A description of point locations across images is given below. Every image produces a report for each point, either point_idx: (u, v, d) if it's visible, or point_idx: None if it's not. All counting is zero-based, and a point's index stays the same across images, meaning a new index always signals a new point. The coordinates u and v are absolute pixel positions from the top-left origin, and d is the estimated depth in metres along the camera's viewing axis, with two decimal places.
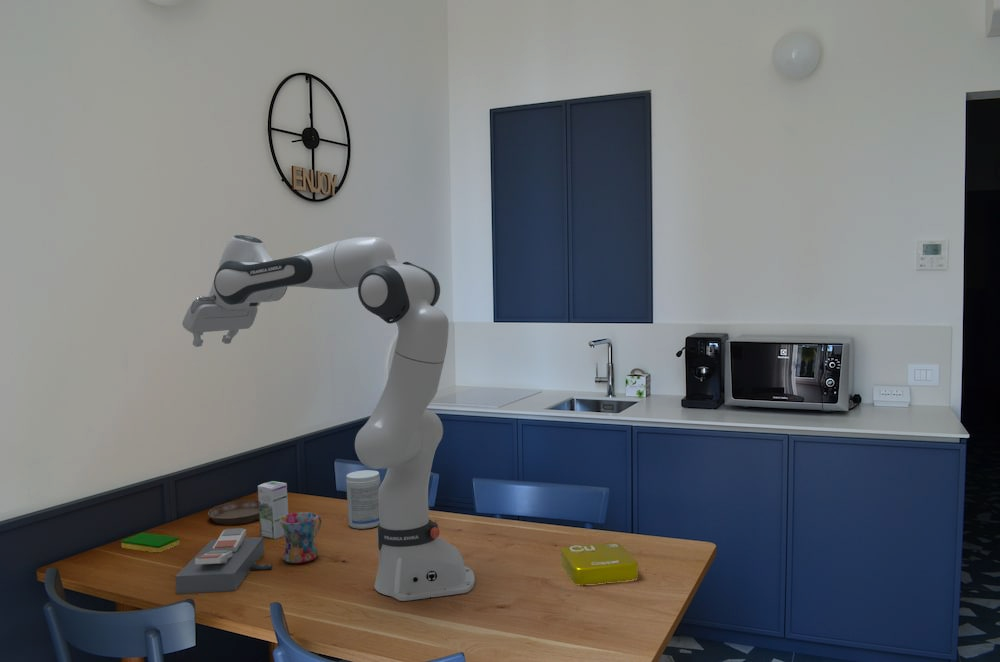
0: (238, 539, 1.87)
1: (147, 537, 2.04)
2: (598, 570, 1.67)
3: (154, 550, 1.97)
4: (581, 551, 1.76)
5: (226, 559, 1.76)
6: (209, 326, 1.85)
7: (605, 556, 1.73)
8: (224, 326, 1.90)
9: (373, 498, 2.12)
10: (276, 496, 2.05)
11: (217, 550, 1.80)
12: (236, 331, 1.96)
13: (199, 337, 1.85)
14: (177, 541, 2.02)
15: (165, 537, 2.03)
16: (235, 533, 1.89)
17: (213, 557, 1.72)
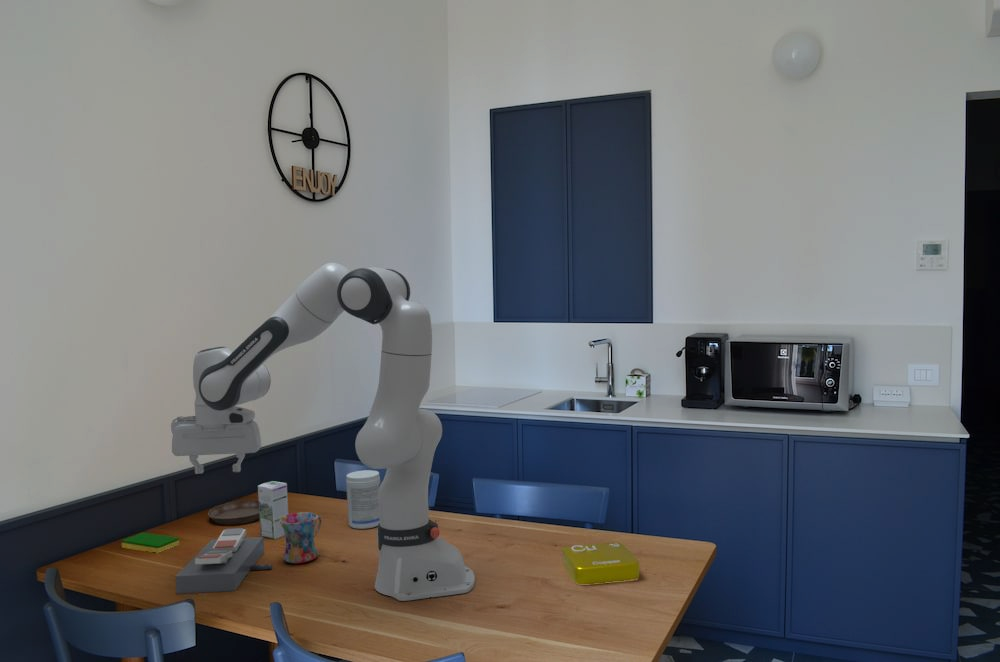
0: (238, 539, 1.87)
1: (147, 537, 2.04)
2: (599, 570, 1.67)
3: (154, 550, 1.97)
4: (582, 551, 1.77)
5: (226, 559, 1.76)
6: (194, 448, 1.78)
7: (606, 556, 1.73)
8: (215, 448, 1.79)
9: (373, 498, 2.12)
10: (276, 496, 2.05)
11: (217, 550, 1.80)
12: (239, 456, 1.80)
13: (192, 462, 1.79)
14: (177, 541, 2.02)
15: (165, 537, 2.03)
16: (235, 533, 1.89)
17: (213, 557, 1.72)
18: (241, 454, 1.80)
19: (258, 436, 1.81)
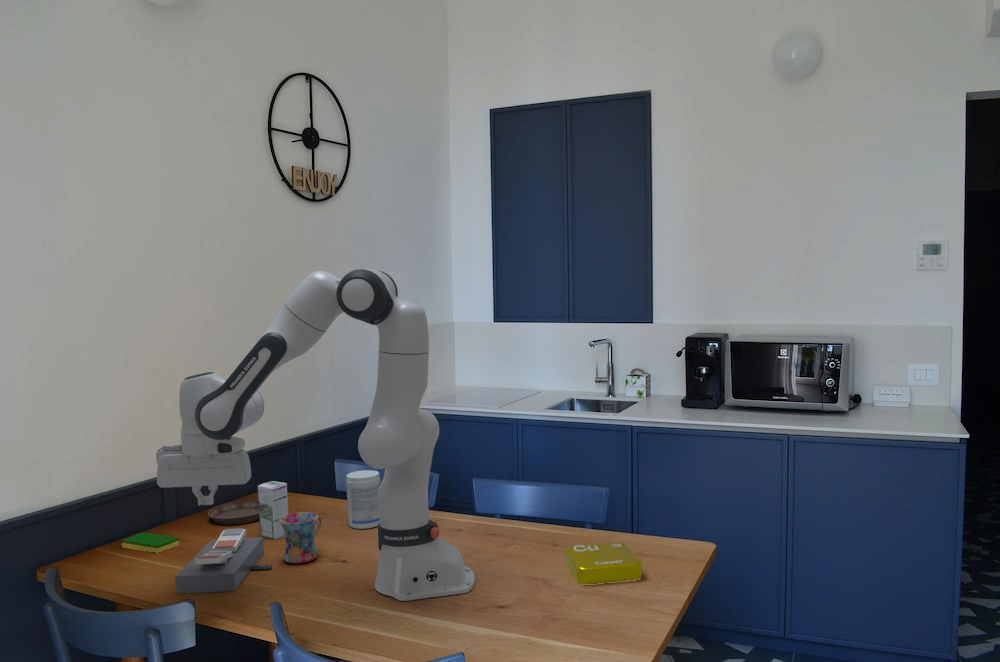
0: (238, 539, 1.87)
1: (147, 537, 2.04)
2: (601, 570, 1.67)
3: (153, 550, 1.97)
4: (585, 551, 1.76)
5: (226, 559, 1.76)
6: (180, 479, 1.69)
7: (609, 556, 1.73)
8: (203, 480, 1.69)
9: (373, 498, 2.12)
10: (276, 496, 2.05)
11: (217, 550, 1.80)
12: (212, 488, 1.70)
13: (195, 493, 1.70)
14: (177, 541, 2.02)
15: (165, 537, 2.03)
16: (235, 533, 1.89)
17: (213, 557, 1.72)
18: (213, 486, 1.70)
19: (248, 466, 1.72)
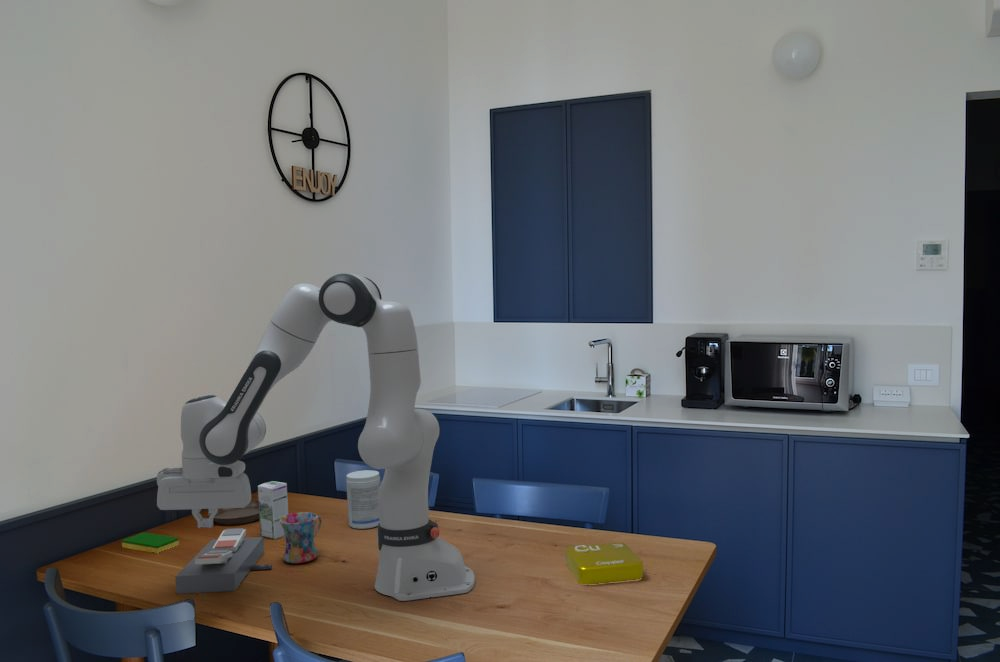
0: (238, 539, 1.87)
1: (147, 537, 2.04)
2: (603, 570, 1.67)
3: (153, 550, 1.97)
4: (586, 551, 1.76)
5: (226, 559, 1.76)
6: (180, 502, 1.70)
7: (610, 556, 1.73)
8: (203, 503, 1.70)
9: (373, 498, 2.12)
10: (276, 496, 2.05)
11: (217, 550, 1.80)
12: (211, 512, 1.71)
13: (195, 516, 1.71)
14: (176, 541, 2.02)
15: (165, 537, 2.03)
16: (235, 533, 1.89)
17: (213, 557, 1.72)
18: (213, 509, 1.71)
19: (248, 490, 1.72)
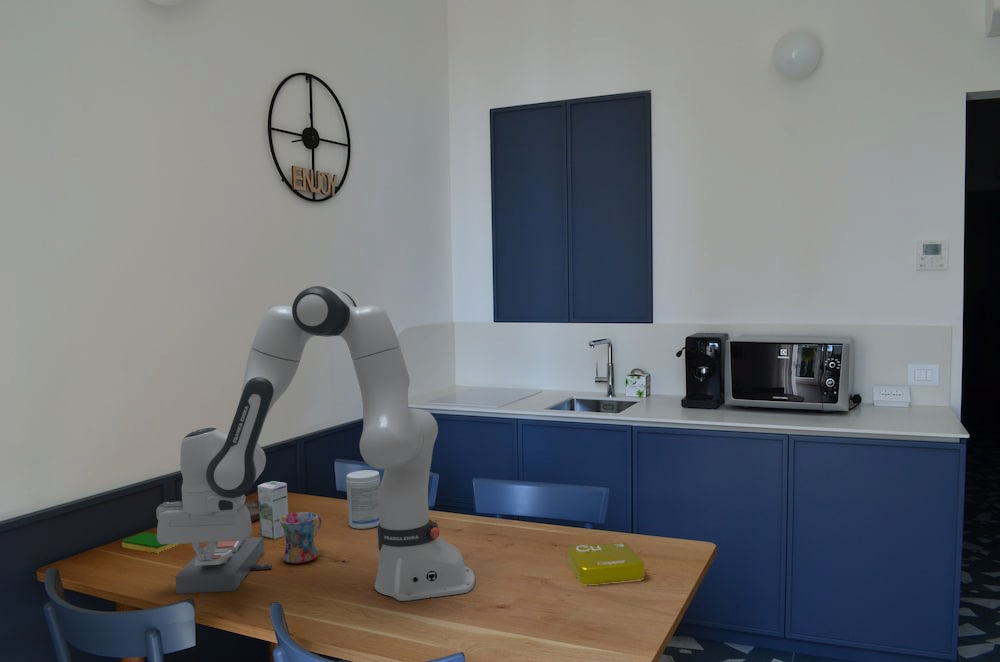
0: None
1: (147, 537, 2.04)
2: (604, 570, 1.67)
3: (153, 550, 1.97)
4: (587, 551, 1.76)
5: (226, 559, 1.76)
6: (180, 536, 1.69)
7: (611, 556, 1.73)
8: (203, 536, 1.69)
9: (373, 498, 2.12)
10: (276, 496, 2.05)
11: (217, 549, 1.80)
12: (212, 545, 1.70)
13: (196, 549, 1.70)
14: None
15: None
16: None
17: (213, 558, 1.72)
18: (214, 542, 1.70)
19: (249, 522, 1.72)
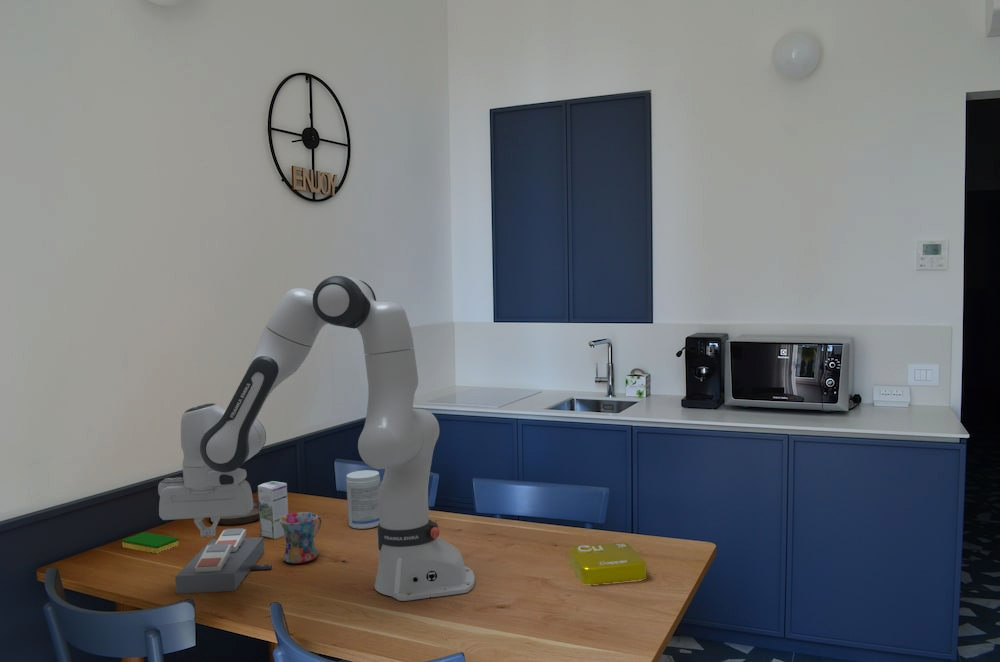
0: (238, 539, 1.87)
1: (148, 537, 2.04)
2: (606, 570, 1.67)
3: (152, 550, 1.97)
4: (589, 551, 1.76)
5: (226, 559, 1.76)
6: (182, 511, 1.69)
7: (613, 556, 1.73)
8: (205, 511, 1.70)
9: (373, 498, 2.12)
10: (276, 496, 2.05)
11: (216, 544, 1.80)
12: (214, 520, 1.71)
13: (198, 525, 1.71)
14: (176, 542, 2.02)
15: (165, 537, 2.03)
16: (235, 533, 1.89)
17: (213, 565, 1.71)
18: (216, 517, 1.71)
19: (250, 497, 1.72)
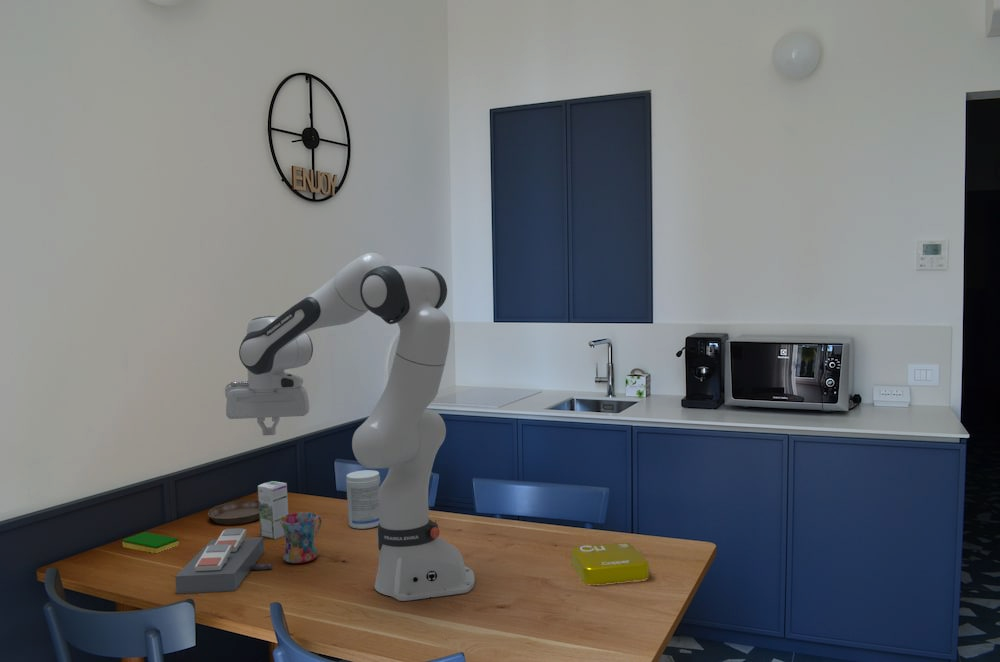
0: (238, 539, 1.87)
1: (148, 537, 2.04)
2: (608, 570, 1.66)
3: (152, 550, 1.97)
4: (591, 551, 1.76)
5: (226, 559, 1.76)
6: (247, 411, 1.89)
7: (615, 556, 1.73)
8: (267, 412, 1.89)
9: (373, 498, 2.12)
10: (276, 496, 2.05)
11: None
12: (275, 420, 1.90)
13: (260, 424, 1.90)
14: (176, 542, 2.02)
15: (165, 537, 2.03)
16: (235, 533, 1.89)
17: (213, 565, 1.71)
18: (276, 418, 1.90)
19: (307, 400, 1.92)
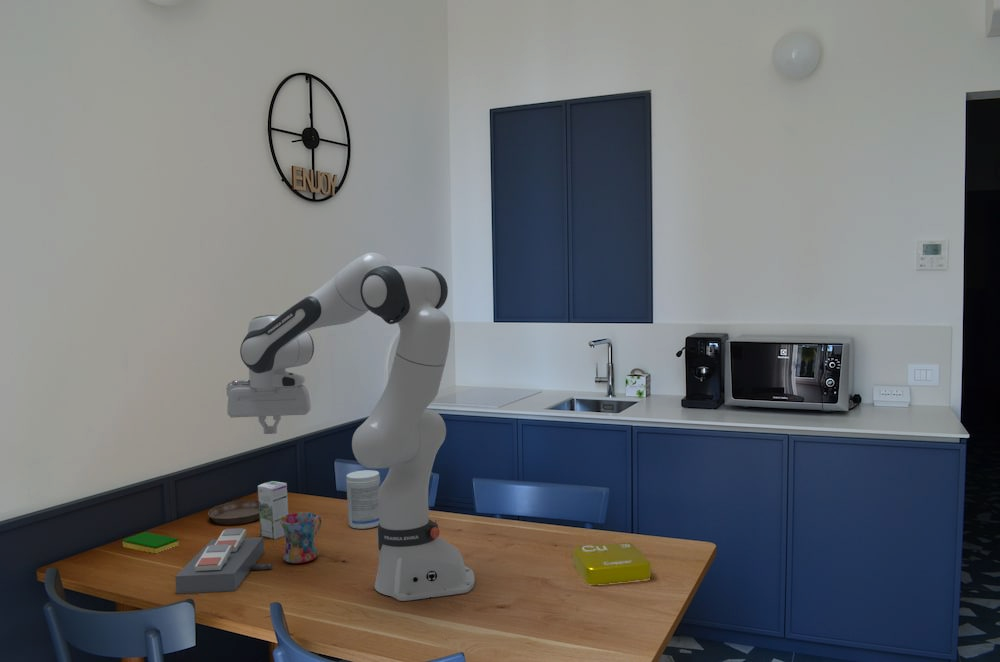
0: (238, 539, 1.87)
1: (148, 537, 2.04)
2: (610, 570, 1.66)
3: (151, 550, 1.97)
4: (593, 551, 1.76)
5: (226, 559, 1.76)
6: (248, 410, 1.89)
7: (617, 556, 1.73)
8: (268, 410, 1.90)
9: (373, 498, 2.12)
10: (276, 496, 2.05)
11: (216, 545, 1.80)
12: (276, 419, 1.91)
13: (261, 423, 1.91)
14: (176, 542, 2.02)
15: (165, 537, 2.03)
16: (235, 533, 1.89)
17: (213, 564, 1.71)
18: (277, 416, 1.91)
19: (308, 399, 1.92)
